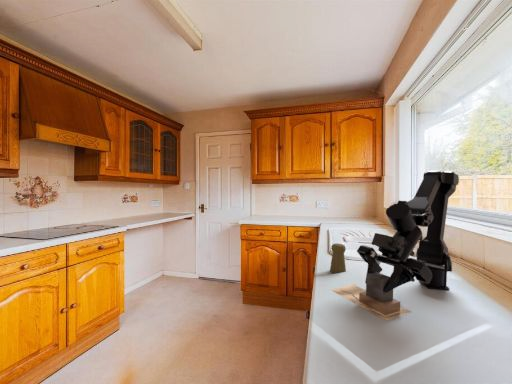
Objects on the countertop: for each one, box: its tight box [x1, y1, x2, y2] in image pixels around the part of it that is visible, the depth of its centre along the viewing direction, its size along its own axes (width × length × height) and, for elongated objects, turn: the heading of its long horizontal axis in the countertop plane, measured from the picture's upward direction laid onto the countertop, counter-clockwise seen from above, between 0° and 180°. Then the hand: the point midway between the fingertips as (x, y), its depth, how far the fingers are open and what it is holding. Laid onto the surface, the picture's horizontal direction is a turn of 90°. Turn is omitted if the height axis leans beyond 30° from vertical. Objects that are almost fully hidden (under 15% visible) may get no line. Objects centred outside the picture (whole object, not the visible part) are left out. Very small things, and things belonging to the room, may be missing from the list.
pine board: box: [330, 284, 413, 321], centre depth 70 cm, size 19×10×1 cm, turn 26°
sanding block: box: [359, 272, 401, 317], centre depth 66 cm, size 8×6×8 cm
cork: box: [329, 243, 347, 275], centre depth 96 cm, size 6×6×11 cm
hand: (375, 287), depth 65 cm, fingers closed on sanding block, 5 cm apart
